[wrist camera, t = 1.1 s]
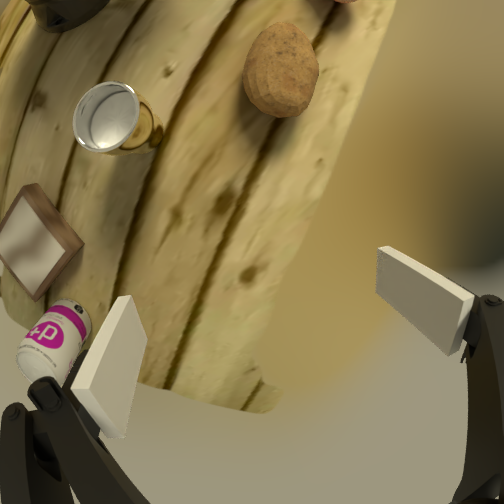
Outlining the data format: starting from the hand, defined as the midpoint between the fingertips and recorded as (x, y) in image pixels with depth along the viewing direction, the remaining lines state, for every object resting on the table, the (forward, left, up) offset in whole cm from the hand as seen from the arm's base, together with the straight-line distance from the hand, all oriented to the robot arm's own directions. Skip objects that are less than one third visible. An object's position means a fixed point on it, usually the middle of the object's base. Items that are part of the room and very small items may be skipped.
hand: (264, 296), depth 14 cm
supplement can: (-4, -32, -26) cm, 42 cm away
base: (-17, -26, -26) cm, 41 cm away
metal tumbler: (-16, -2, -26) cm, 31 cm away
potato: (-11, +17, -26) cm, 33 cm away
